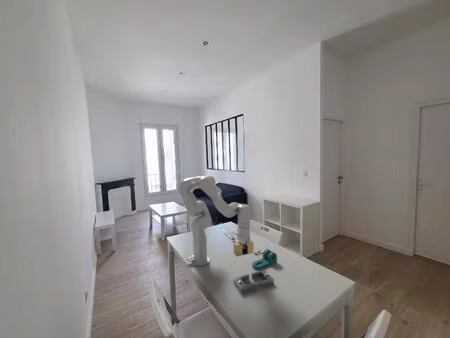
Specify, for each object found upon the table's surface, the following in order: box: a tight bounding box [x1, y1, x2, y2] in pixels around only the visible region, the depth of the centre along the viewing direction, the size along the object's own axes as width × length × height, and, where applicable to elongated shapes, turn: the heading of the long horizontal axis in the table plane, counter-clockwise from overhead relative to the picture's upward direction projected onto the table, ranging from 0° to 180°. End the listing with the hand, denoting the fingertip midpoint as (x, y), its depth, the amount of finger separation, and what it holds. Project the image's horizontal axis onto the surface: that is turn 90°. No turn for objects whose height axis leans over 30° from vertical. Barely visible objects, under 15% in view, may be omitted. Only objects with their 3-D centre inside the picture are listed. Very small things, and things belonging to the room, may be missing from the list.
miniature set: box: [223, 228, 239, 243], centre depth 183 cm, size 6×35×12 cm
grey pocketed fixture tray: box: [232, 269, 275, 295], centre depth 120 cm, size 21×10×4 cm, turn 111°
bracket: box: [251, 248, 278, 271], centre depth 139 cm, size 18×7×8 cm, turn 121°
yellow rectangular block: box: [233, 239, 255, 257], centre depth 130 cm, size 12×4×7 cm, turn 111°
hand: (243, 251), depth 130 cm, fingers closed on yellow rectangular block, 4 cm apart
